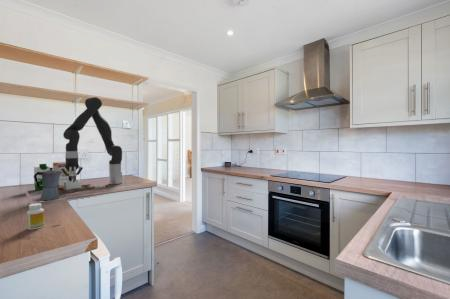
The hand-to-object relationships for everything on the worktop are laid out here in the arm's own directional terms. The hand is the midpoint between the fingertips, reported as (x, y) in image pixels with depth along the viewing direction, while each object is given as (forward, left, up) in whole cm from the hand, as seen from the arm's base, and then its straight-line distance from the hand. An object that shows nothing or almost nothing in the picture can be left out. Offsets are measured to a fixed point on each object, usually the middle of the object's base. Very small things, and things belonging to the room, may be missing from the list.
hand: (72, 181), depth 157 cm
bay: (-1, 0, -8) cm, 8 cm away
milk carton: (+15, -21, -8) cm, 27 cm away
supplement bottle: (+26, +70, -8) cm, 75 cm away
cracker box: (+2, -19, -8) cm, 21 cm away
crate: (0, 0, -7) cm, 7 cm away
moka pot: (+15, +17, -8) cm, 24 cm away
